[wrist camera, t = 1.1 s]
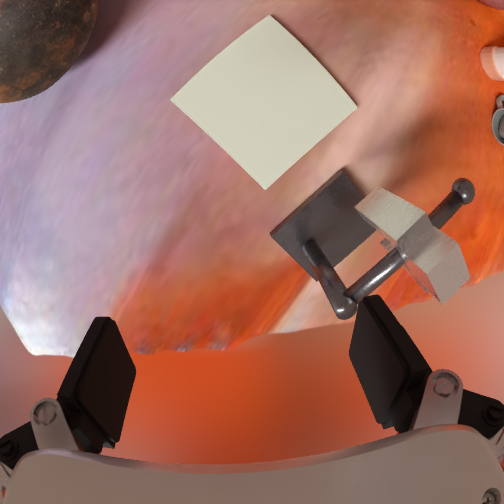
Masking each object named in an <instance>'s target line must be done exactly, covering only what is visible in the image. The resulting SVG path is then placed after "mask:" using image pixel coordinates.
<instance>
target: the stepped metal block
mask: <svg viewBox="0 0 504 504" xmlns="http://www.w3.org/2000/svg"><path fill="white" fill-rule="evenodd" d="M354 208H355V209H356V210H357V211H358V213H359V214H360V215H361V217H362V218H363V219H364V220H365V221H366V222H367V223H369V224H370V225H371V226H372V227H373V228H375V229H376V230H377V231H378V232H379V233H381V234H382V235H383V236H384V237H385V239H384V240H383V241H382V242H381V244H382V246H383V247H384V249H385V250H386V252H387V253H389V252H390V251H391V250H392V249H394V248H395V247H396V248H397V250H398V252H399V253H400V255H401V256H402V258H403V259H404V261H405V263H404V264H403V265H402V266H401V267H402V268H403V269H404V270H405V271H406V272H407V273H408V274H409V275H410V276H411V277H412V278H413V279H414V280H415V281H416V282H417V283H418V284H419V285H420V286H421V287H422V288H423V289H424V290H425V291H426V292H428V291H429V292H430V293H431V294H432V295H433V296H434V297H435V298H436V299H437V300H438V301H439V302H440V303H441V304H442V305H443V304H444V303H445V302H446V301H447V300H448V299H449V298H450V297H451V296H452V295H453V294H454V293H455V292H456V291H457V290H458V289H459V288H460V287H461V286H462V285H463V284H464V283H465V282H466V281H467V280H468V279H469V278H470V274H469V271H468V269H467V266H466V263H465V260H464V257H463V254H462V252H461V249H460V247H459V244H458V242H456V241H455V240H453V239H452V238H450V237H449V236H448V235H446V234H445V233H443V232H442V231H440V230H439V229H437V228H436V227H434V226H433V225H432V223H431V221H430V219H429V218H428V216H427V214H426V212H424V211H423V210H421V209H419V208H418V207H416V206H414V205H412V204H411V203H409V202H407V201H405V200H403V199H402V198H400V197H398V196H396V195H394V194H392V193H391V192H389V191H387V190H385V189H383V188H381V187H379V186H377V187H376V188H375V189H374V190H373V191H372V192H370V193H369V194H368V195H367V196H366V197H365V198H364V199H363V200H362V201H361V202H359V203H358V204H357V205H356V206H355V207H354Z"/></svg>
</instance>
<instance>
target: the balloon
mask: <svg viewBox="0 0 504 504" xmlns="http://www.w3.org/2000/svg"><path fill="white" fill-rule="evenodd" d="M479 1H481V2H482V3H484V4H486V5H488V6H490V7H493V8H496V9H500V10H504V0H479Z"/></svg>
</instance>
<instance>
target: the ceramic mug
mask: <svg viewBox="0 0 504 504" xmlns="http://www.w3.org/2000/svg"><path fill="white" fill-rule="evenodd" d="M502 101H504V95H500V96H498V97H497V99H496V103H497V107H498V109H497V110H496V111H495V113H494V115H493V117H492V130H493V134H494V136H495V138H496V139H497V141H498V142H499V143H500V144H502V145H503V146H504V107H503V104H502Z"/></svg>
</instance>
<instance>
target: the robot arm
mask: <svg viewBox="0 0 504 504" xmlns="http://www.w3.org/2000/svg"><path fill="white" fill-rule="evenodd" d="M349 356H350V360H351V362H352V364H353V366H354V369H355V371H356V373H357V376H358V378H359V381H360V383H361V385H362V388H363V390H364V392H365V395H366V397H367V400H368V402H369V405H370V407H371V409H372V412H373V414H374V417H375V419H376V421H377V423H379V424H380V423H381V424H382V427H383V429H387V428H390V427H393V426H394V428H395V430H396V431H397V433H396V435H394V436H390V437H387V438H384V439H381V440H377V441H373V442H370V443H366V444H363V445H359V446H354V447H350V448H346V449H342V450H337V451H333V452H328V453H323V454H318V455H312V456H306V457H300V458H294V459H287V460H279V461H269V462H260V463H246V464H222V465H195V464H171V463H158V462H147V461H138V460H131V459H123V458H116V457H110V456H104V455H103V454H102V452H101V451H102V448H103V447H106V448H112V449H114V448H115V443H116V442H119V440H120V436H121V431H122V427H123V422H124V419H125V414H126V410H127V406H128V402H129V398H130V394H131V390H132V387H133V383H134V380H135V375H136V368H135V365H134V363H133V361H132V359H131V357H130V355H129V352H128V350H127V348H126V346H125V343H124V341H123V339H122V336H121V334H120V332H119V329H118V327H117V324H116V322H115V321H114V320H112V319H111V318H110V317H95V319H94V320H93V322H92V324H91V326H90V328H89V330H88V331H87V333H86V335H85V337H84V339H83V341H82V343H81V345H80V347H79V349H78V351H77V353H76V355H75V357H74V359H73V361H72V363H71V365H70V367H69V370H68V372H67V374H66V376H65V378H64V380H63V382H62V385H61V387H60V389H59V392H58V394H57V395H58V397H57V399H56V400H55V399H52V398H44V399H41V400H40V401H38V402H37V403H36V404H35V405H34V406H33V408H32V409H31V413H30V420H31V421H30V422H28V423H26V424H24V425H23V426H21V427H19V428H17V429H15V430H13V431H11V432H10V433H8V434H6V435H4V436H3V437H2V438H1V439H0V504H504V405H503V404H502V403H501V402H500V401H498V400H496V399H493V398H490V397H486V396H483V395H480V394H477V393H474V392H470V391H468V390H465V389H463V383H462V381H461V379H460V378H459V376H458V375H457V374H455V373H454V372H453V371H450V370H446V369H439V370H436V371H434V372H432V370H431V368H430V367H429V365H428V363H427V362H426V360H425V359H424V357H423V356H422V354H421V353H420V351H419V350H418V348H417V347H416V345H415V344H414V342H413V341H412V339H411V338H410V336H409V335H408V334H407V332H406V330H405V329H404V328H403V326H402V325H400V323H399V322H398V321H397V319H396V318H395V316H394V315H393V313H392V312H391V311H390V309H389V308H388V306H387V305H386V304H385V302H384V301H383V300H382V298H381V297H380V296H379V295H371V296H365V297H364V298H363V300H362V301H360V302H359V304H358V310H357V315H356V320H355V326H354V330H353V335H352V340H351V344H350V349H349Z"/></svg>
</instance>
